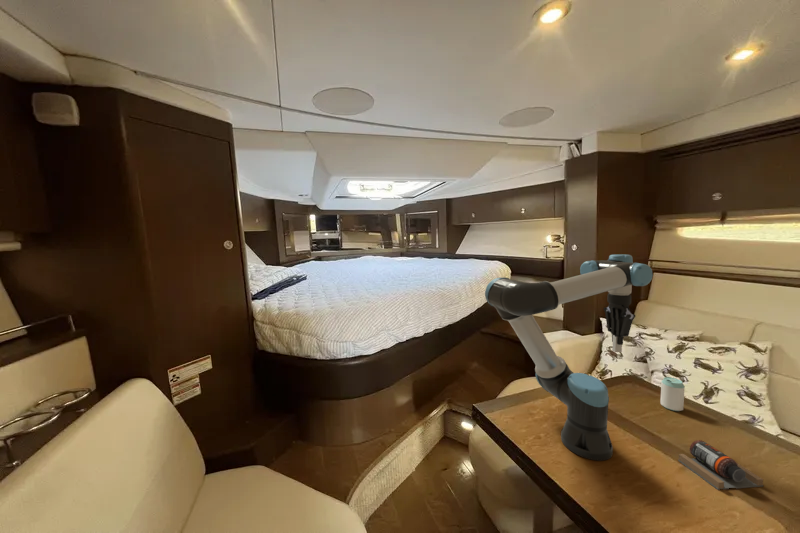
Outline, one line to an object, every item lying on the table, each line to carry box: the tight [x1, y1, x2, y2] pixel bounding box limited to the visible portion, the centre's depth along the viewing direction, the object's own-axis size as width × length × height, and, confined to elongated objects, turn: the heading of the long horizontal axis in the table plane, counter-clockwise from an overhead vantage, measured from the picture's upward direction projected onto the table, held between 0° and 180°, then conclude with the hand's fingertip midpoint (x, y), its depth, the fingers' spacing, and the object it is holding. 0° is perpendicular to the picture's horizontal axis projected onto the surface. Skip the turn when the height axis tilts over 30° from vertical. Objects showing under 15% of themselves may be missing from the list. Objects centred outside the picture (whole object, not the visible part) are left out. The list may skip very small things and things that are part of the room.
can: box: [659, 376, 686, 412], centre depth 121 cm, size 7×7×12 cm
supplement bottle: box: [689, 439, 746, 482], centre depth 88 cm, size 6×6×11 cm
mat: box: [677, 453, 764, 491], centre depth 87 cm, size 14×11×2 cm
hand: (616, 351), depth 116 cm, fingers closed
